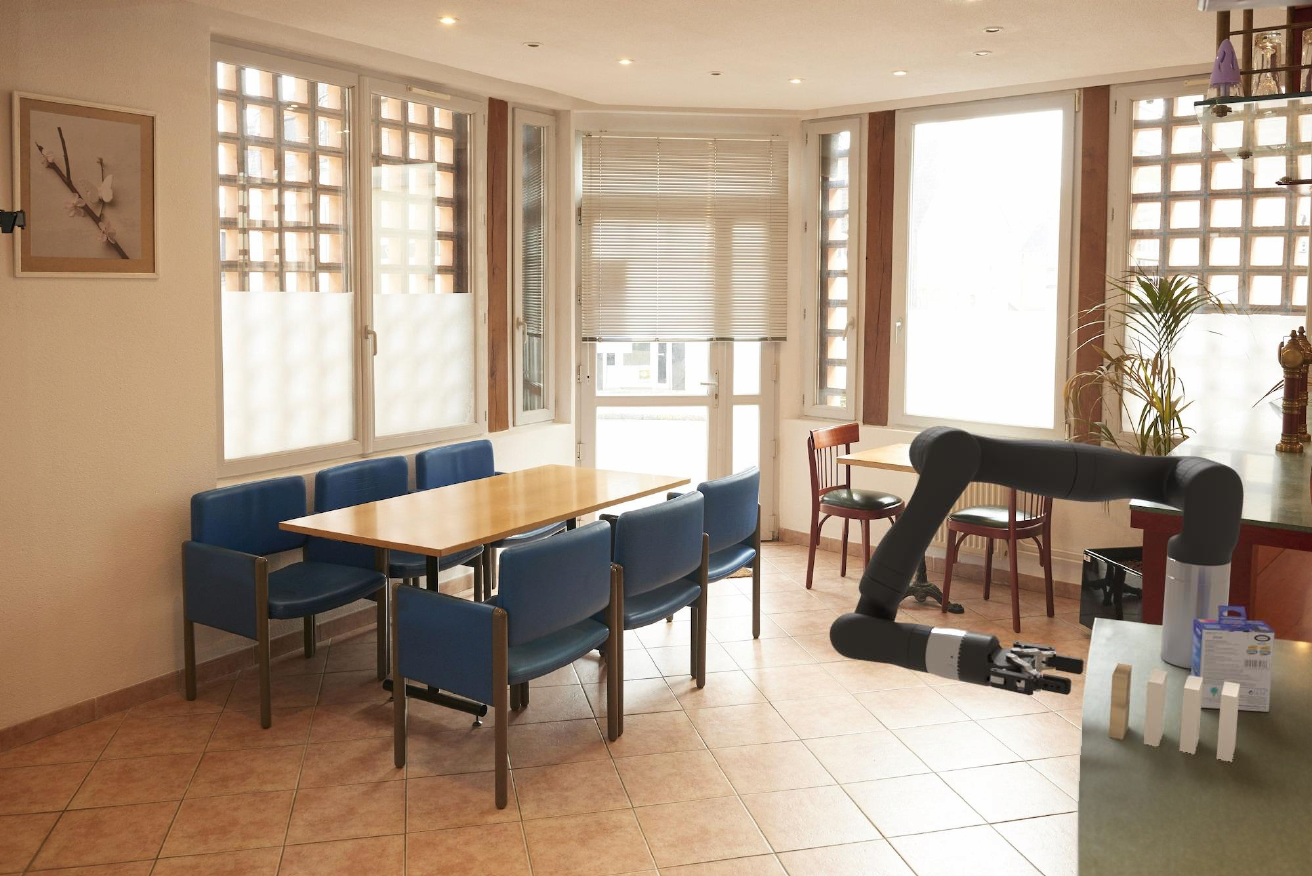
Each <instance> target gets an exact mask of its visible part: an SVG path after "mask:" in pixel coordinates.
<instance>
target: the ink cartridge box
mask: <svg viewBox="0 0 1312 876" xmlns="http://www.w3.org/2000/svg"><path fill="white" fill-rule="evenodd" d="M1226 611H1227V612H1229V611H1230V612H1232V611H1233V612H1237V613H1239V614H1240V616H1236V615H1227V616H1224V615H1223V612H1226ZM1218 618H1219V620H1210V619H1194V622H1193V648H1192V668H1191V672H1190V675H1191V676H1196V677H1202V678H1203V686H1202V700H1201V709H1204V708H1205V709H1216V710H1217V709H1218V710H1220V705H1221V694H1222V690H1223V686H1224V682H1225V681H1226V682H1231V683H1237V684H1240V690H1239V703H1238V711H1248V712H1249V711H1251V712H1265V713H1267V712H1270V711H1269V710H1270V698H1271V684H1272V667H1273V660H1274V659H1273V658H1274V645H1275V635H1276V634H1275V630H1273V629H1272V628H1271V627H1270V626H1269V625H1268V624H1267V623H1266V622H1264V621H1263V620H1247V614H1246V609H1245V606H1236V605H1228V606H1222V605H1218Z"/></svg>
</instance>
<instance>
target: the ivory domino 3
mask: <svg viewBox="0 0 1312 876" xmlns="http://www.w3.org/2000/svg"><path fill="white" fill-rule="evenodd" d="M1239 690H1240V684H1237V683H1231V682H1226V681H1225V682H1224V686H1223V690H1222V694H1221V705H1220V709H1219V722H1218V733H1217V735H1218V737H1217V748H1216V760H1218V759H1221V760H1220V761H1224V762H1228V761H1230V762H1229V763H1233V760H1232V759H1234V755H1233V754H1235V749H1236V743H1237V741H1236V740H1237V725H1238V717H1239V716H1238V714H1239V712H1238V711H1239V710H1238V703H1239Z"/></svg>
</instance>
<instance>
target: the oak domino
mask: <svg viewBox="0 0 1312 876" xmlns="http://www.w3.org/2000/svg"><path fill="white" fill-rule="evenodd" d="M1132 670H1133V666H1132V665H1130V664H1126V663H1124V664H1123V663H1120V662H1119V663H1118V662H1117V664H1116V667H1115V669H1114V670H1113V673H1112V675H1111V692H1110V693H1111V694H1110V711H1109V712H1110V713H1109V726H1108V727H1109V728H1108V729H1109V730H1108V737H1109V738H1111V737H1114V738H1113V739H1116V738H1120V739H1119V740H1121V739H1123V738H1124V739H1125V737H1126V736H1125V735H1126V733H1127V732H1128V731H1127V730H1128V729H1129V720H1130V705H1131V702H1130V701H1131V687H1132V686H1131V685H1132V672H1133V671H1132ZM1124 739H1123V740H1124Z"/></svg>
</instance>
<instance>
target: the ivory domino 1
mask: <svg viewBox="0 0 1312 876" xmlns="http://www.w3.org/2000/svg"><path fill="white" fill-rule="evenodd" d="M1151 670H1152V671H1151V673H1150V675H1149V677H1148V680H1147V690H1146V704H1145V718H1144V719H1145V721H1144V736H1143V744H1144V745H1146V744H1149V745H1148V746H1151V745H1152V747H1156V746H1160V743H1161V741H1162V738H1163V735H1164V727H1165V712H1166V698H1167V683H1168V682H1167V681H1168V671H1167V670H1161V669H1155V668H1153V669H1151ZM1160 740H1161V741H1160Z"/></svg>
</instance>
